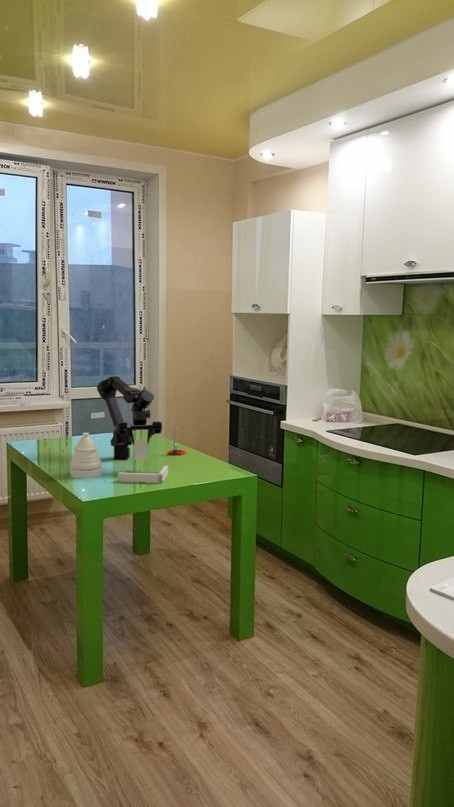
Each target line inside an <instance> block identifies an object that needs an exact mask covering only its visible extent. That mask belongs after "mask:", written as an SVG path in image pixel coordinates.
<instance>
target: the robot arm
mask: <svg viewBox="0 0 454 807" xmlns="http://www.w3.org/2000/svg"><path fill="white" fill-rule="evenodd" d="M96 390H97V392H98V395H99V396H100V398H102V399H103V400H104V401H105V403H106V406H107V410H108V413H109V415H110V418H111V421H112V425H113V432H112V438H111V439H110V441H109V442H110V446H112V447H113V458H112V460H120V461H121V460H125V461H126V460H128V459H129V458H130V457H131V451H130V450H131V448H130V447H129V446H132V445H133V446H134V440H135V438H134V432H133V431H147V439H146V440H147V442H148V445H149V443H150V440H151V439H152V436H155V435H156V434H161V433H162V429H163V423H162V422H161V421H152V424H149V425H148V424H147V423H148V419H150V418H151V409H148V408H149V406H150V405H151V403H152V402H154V398H155V396H154V394H153V393H152V392H150V391H148V390H147V388H143V389H141V390H140V389H138V388H137V387H132V386H130V385H128V384H127V383H126V382H125V381H124V380H122V379H121V378H120V376H108V378H107V379H103V380H102V381H99V383H98V384H97V386H96ZM117 392H118V393H120V394H121V395H122V396H123V400H124V401H125V403H127V404H132V405H131V409H130V411H131V412H132V424H130V423H129V424H128V422H127V421H126V422H125V421H124V419H123V415H122V412H121V409H120V407H119V404H118V401H117V399H116V394H117Z"/></svg>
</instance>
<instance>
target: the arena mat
mask: <svg viewBox="0 0 454 807" xmlns="http://www.w3.org/2000/svg"><path fill="white" fill-rule="evenodd" d="M124 473H152V474H159V473H160V471H159V472H158V471H157V472H156V471H133V470H132V471H129V470H126V471H125V472H124Z"/></svg>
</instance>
